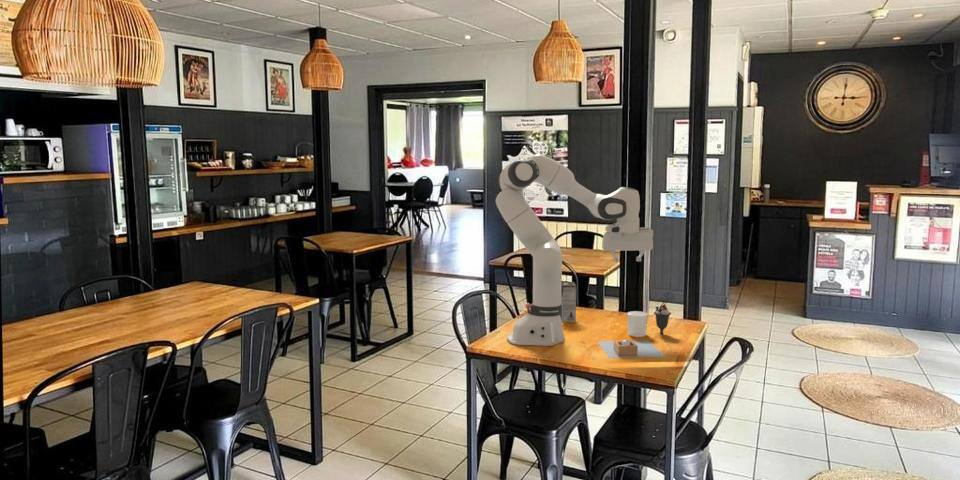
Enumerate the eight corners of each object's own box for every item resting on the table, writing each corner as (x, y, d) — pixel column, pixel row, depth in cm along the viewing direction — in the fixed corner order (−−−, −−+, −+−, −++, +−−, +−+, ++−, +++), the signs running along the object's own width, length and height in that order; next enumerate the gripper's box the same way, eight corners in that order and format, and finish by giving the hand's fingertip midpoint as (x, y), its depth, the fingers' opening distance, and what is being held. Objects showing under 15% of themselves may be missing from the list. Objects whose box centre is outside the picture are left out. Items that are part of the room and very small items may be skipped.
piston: (622, 354, 236) (622, 342, 236) (619, 351, 239) (620, 339, 239) (631, 354, 236) (631, 341, 236) (628, 351, 239) (629, 339, 239)
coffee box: (559, 316, 297) (559, 281, 294) (573, 316, 296) (574, 281, 294) (561, 322, 287) (562, 285, 285) (576, 322, 287) (577, 285, 285)
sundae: (671, 340, 259) (672, 302, 257) (653, 339, 260) (654, 302, 258) (669, 335, 265) (671, 299, 263) (652, 335, 267) (653, 298, 265)
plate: (609, 361, 233) (609, 357, 232) (596, 345, 252) (596, 341, 252) (665, 360, 234) (665, 356, 233) (648, 344, 253) (648, 340, 253)
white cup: (622, 336, 264) (623, 312, 263) (638, 334, 267) (639, 310, 266) (634, 341, 257) (635, 316, 256) (651, 339, 260) (651, 314, 259)
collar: (618, 356, 234) (618, 346, 234) (613, 350, 241) (613, 340, 240) (637, 355, 235) (637, 346, 234) (632, 350, 241) (632, 340, 241)
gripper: (651, 226, 270) (650, 259, 272) (601, 226, 269) (600, 260, 271) (655, 228, 264) (654, 262, 266) (605, 228, 263) (604, 263, 265)
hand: (627, 261), depth 268 cm, fingers open, 8 cm apart
